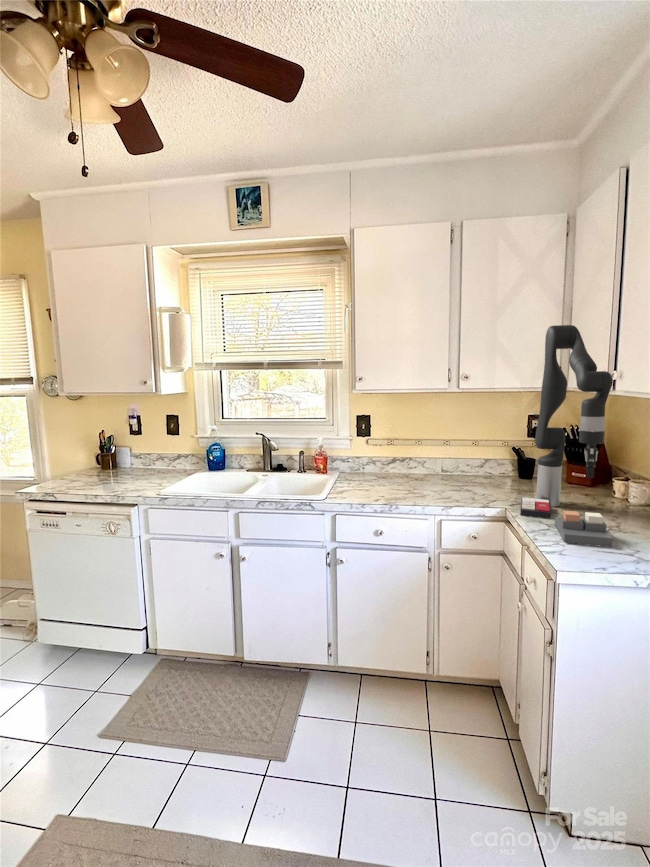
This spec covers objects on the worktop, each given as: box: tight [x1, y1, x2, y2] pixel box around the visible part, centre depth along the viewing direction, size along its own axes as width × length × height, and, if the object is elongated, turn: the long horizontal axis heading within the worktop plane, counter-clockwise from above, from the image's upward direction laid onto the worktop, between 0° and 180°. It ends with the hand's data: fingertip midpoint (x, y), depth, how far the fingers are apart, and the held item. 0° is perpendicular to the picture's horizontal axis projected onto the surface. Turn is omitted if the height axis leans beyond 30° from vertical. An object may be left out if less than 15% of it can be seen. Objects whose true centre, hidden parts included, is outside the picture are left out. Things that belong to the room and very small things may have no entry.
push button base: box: [553, 515, 614, 548], centre depth 155 cm, size 18×14×6 cm
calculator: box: [520, 497, 552, 519], centre depth 182 cm, size 11×4×15 cm
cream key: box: [584, 511, 604, 524], centre depth 154 cm, size 4×4×2 cm
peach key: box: [562, 510, 581, 522], centre depth 156 cm, size 4×4×2 cm
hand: (589, 475), depth 156 cm, fingers open, 8 cm apart
